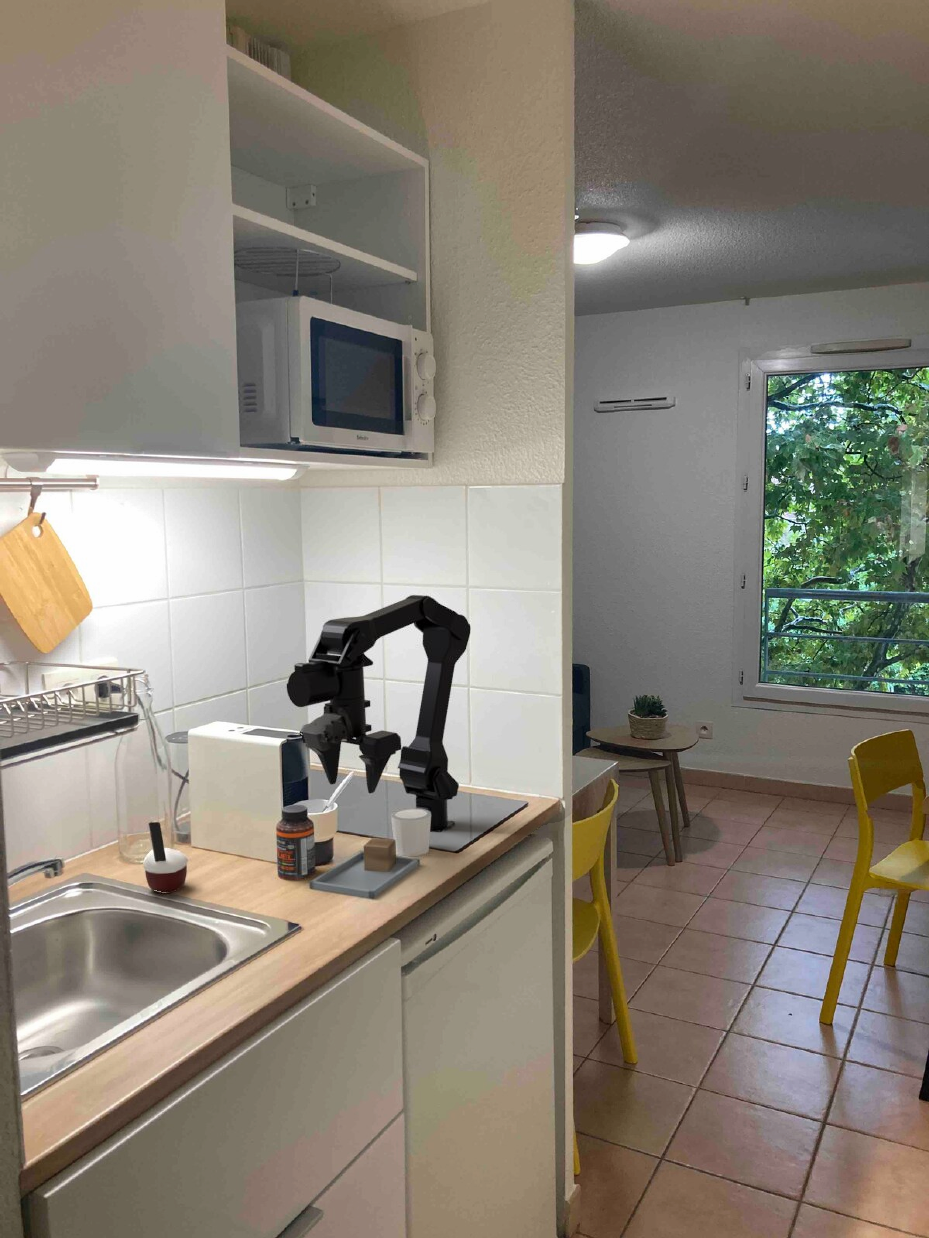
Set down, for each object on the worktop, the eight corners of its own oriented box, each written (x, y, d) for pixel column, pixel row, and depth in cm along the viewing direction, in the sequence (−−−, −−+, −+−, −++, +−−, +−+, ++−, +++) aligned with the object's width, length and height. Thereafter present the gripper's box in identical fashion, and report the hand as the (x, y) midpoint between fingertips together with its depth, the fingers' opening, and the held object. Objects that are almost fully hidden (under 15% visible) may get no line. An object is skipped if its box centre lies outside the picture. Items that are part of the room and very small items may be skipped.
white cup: (439, 850, 169) (438, 810, 168) (419, 863, 163) (418, 821, 162) (404, 844, 172) (403, 805, 171) (383, 857, 166) (382, 816, 165)
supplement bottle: (269, 880, 156) (267, 810, 155) (293, 868, 162) (290, 800, 160) (300, 886, 154) (297, 815, 152) (323, 873, 159) (320, 804, 158)
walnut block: (373, 861, 162) (372, 837, 162) (396, 863, 161) (395, 839, 161) (364, 870, 158) (363, 845, 158) (388, 872, 157) (387, 847, 157)
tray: (360, 859, 165) (360, 850, 165) (419, 868, 160) (419, 858, 160) (309, 892, 151) (309, 881, 151) (372, 902, 147) (372, 892, 146)
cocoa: (168, 879, 159) (164, 805, 158) (201, 882, 156) (197, 807, 156) (128, 899, 150) (123, 820, 149) (162, 902, 148) (158, 823, 147)
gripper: (271, 698, 163) (277, 791, 165) (351, 711, 151) (356, 810, 153) (322, 687, 171) (327, 775, 173) (401, 698, 159) (405, 792, 161)
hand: (351, 788), depth 165 cm, fingers open, 9 cm apart
